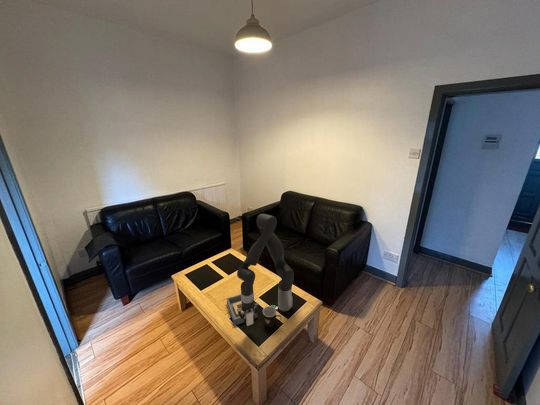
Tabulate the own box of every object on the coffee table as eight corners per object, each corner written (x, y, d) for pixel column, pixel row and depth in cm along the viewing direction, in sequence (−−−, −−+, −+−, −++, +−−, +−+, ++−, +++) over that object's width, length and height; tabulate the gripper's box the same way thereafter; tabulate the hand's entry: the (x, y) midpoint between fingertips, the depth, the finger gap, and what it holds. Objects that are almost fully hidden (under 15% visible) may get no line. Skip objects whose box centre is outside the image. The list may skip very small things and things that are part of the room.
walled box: (248, 297, 164) (247, 291, 162) (257, 317, 147) (257, 311, 145) (227, 303, 158) (226, 298, 156) (234, 325, 141) (234, 319, 139)
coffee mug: (260, 323, 143) (260, 311, 139) (269, 315, 148) (269, 304, 145) (272, 334, 135) (272, 322, 131) (282, 326, 140) (282, 314, 137)
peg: (251, 318, 136) (250, 307, 133) (253, 323, 133) (252, 312, 130) (245, 320, 135) (244, 309, 132) (247, 326, 131) (246, 314, 128)
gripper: (256, 289, 133) (257, 311, 139) (234, 297, 128) (236, 319, 134) (261, 298, 127) (262, 320, 133) (237, 306, 121) (239, 329, 127)
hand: (249, 320), depth 133 cm, fingers closed on peg, 4 cm apart
